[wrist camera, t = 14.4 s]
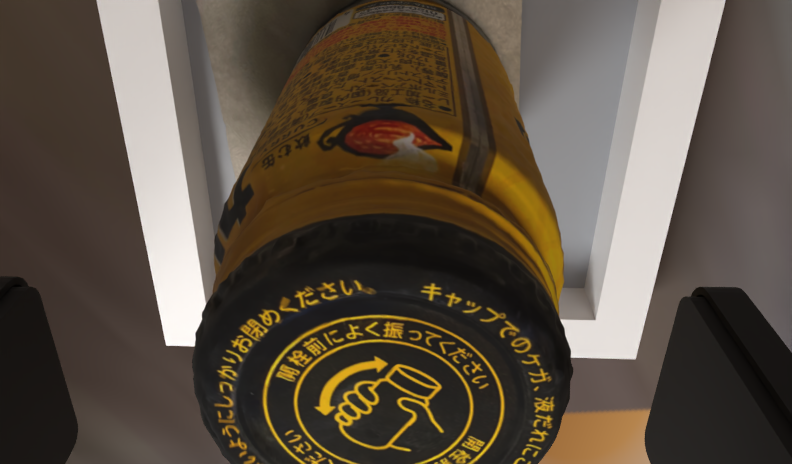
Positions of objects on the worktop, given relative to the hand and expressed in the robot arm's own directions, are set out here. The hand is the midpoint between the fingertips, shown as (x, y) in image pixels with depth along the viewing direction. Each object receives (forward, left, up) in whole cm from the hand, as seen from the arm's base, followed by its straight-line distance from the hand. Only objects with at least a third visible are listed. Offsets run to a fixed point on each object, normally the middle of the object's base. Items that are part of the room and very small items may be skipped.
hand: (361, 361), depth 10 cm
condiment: (0, +1, -11) cm, 11 cm away
